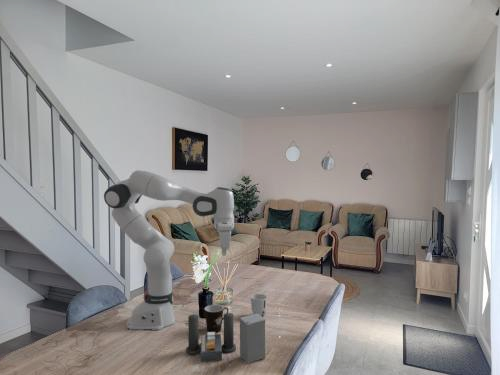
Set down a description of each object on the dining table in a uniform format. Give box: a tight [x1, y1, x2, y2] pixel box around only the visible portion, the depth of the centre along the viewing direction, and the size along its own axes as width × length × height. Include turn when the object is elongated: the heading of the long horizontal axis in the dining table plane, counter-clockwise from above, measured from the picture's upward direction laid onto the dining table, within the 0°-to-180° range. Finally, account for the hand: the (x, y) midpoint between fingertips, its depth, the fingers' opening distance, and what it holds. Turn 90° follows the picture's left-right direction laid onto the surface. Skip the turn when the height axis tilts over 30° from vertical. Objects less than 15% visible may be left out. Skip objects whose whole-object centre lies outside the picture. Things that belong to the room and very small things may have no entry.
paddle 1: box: [206, 331, 216, 337], centre depth 139 cm, size 3×2×2 cm
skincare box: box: [239, 313, 266, 364], centre depth 130 cm, size 8×7×16 cm
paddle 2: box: [206, 341, 215, 350], centre depth 131 cm, size 3×2×2 cm
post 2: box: [221, 312, 237, 354], centre depth 136 cm, size 6×6×14 cm
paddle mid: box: [207, 336, 215, 343], centre depth 135 cm, size 3×2×2 cm
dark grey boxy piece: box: [200, 333, 223, 363], centre depth 135 cm, size 8×14×4 cm, turn 7°
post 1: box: [185, 314, 201, 356], centre depth 135 cm, size 6×6×14 cm
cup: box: [250, 293, 268, 318], centre depth 168 cm, size 8×8×10 cm
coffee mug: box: [204, 304, 229, 334], centre depth 154 cm, size 12×9×10 cm
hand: (224, 254), depth 150 cm, fingers closed
